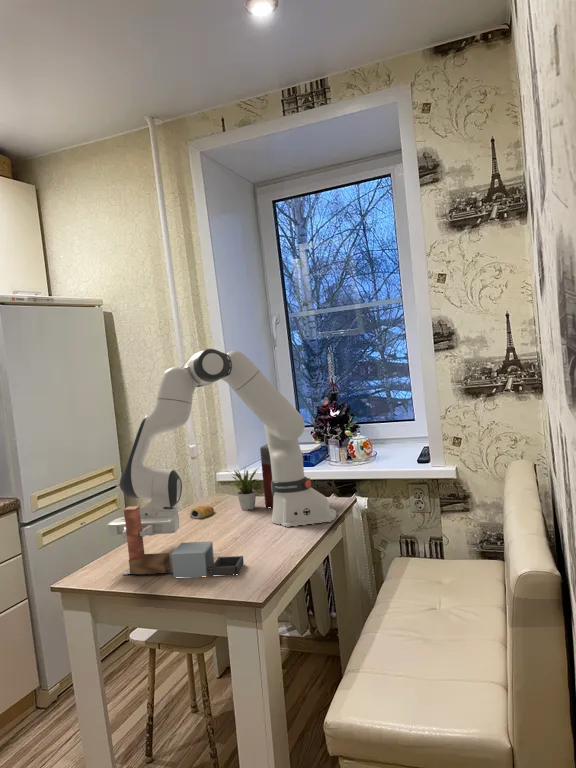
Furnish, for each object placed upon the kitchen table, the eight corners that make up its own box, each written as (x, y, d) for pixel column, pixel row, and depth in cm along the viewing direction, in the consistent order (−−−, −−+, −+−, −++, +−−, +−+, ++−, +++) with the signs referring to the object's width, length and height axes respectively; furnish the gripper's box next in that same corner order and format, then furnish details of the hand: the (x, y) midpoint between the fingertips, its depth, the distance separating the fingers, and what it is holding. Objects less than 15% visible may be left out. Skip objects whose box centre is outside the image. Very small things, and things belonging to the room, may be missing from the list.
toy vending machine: (299, 501, 229) (292, 428, 228) (287, 509, 219) (280, 433, 217) (278, 500, 233) (271, 429, 231) (265, 508, 223) (258, 434, 221)
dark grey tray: (243, 564, 167) (243, 556, 167) (237, 575, 159) (236, 566, 159) (219, 565, 168) (218, 557, 168) (212, 576, 160) (211, 567, 160)
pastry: (205, 511, 228) (204, 501, 228) (218, 513, 224) (218, 503, 224) (188, 518, 220) (187, 508, 220) (201, 520, 216) (200, 509, 216)
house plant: (223, 515, 219) (218, 471, 218) (228, 505, 232) (224, 463, 231) (261, 512, 218) (257, 468, 217) (265, 502, 232) (261, 461, 231)
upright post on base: (170, 566, 168) (163, 503, 167) (165, 573, 164) (158, 508, 163) (136, 568, 170) (129, 505, 168) (129, 574, 165) (122, 510, 164)
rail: (214, 569, 165) (214, 568, 165) (213, 571, 164) (213, 570, 164) (124, 573, 169) (124, 572, 168) (122, 575, 167) (122, 574, 167)
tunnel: (214, 564, 169) (212, 541, 168) (206, 577, 160) (203, 552, 160) (183, 566, 170) (181, 542, 170) (173, 578, 161) (171, 554, 161)
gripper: (116, 510, 180) (96, 525, 167) (182, 507, 178) (167, 521, 164) (119, 531, 181) (98, 547, 167) (184, 528, 178) (169, 544, 164)
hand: (133, 534), depth 166 cm, fingers closed on upright post on base, 3 cm apart
